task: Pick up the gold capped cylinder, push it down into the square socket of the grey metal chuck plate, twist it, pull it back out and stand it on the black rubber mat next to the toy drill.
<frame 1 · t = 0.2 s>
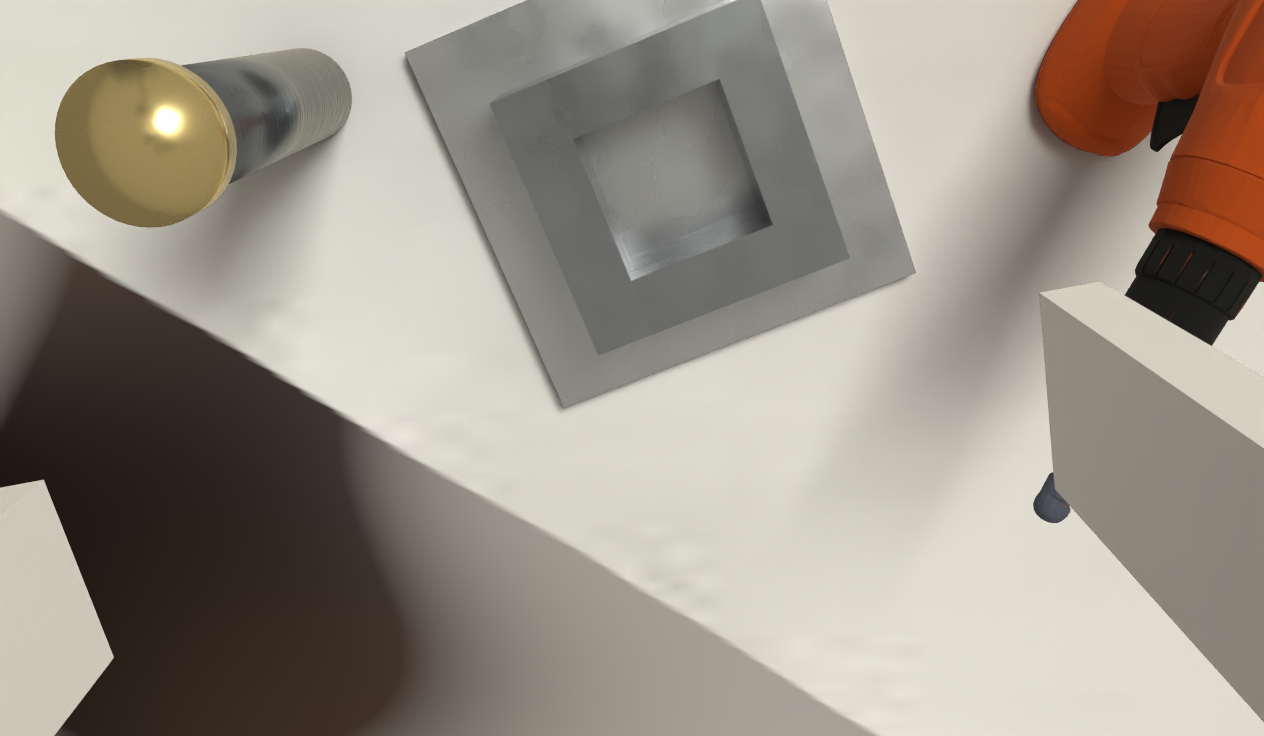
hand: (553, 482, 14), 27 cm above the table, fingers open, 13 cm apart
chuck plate: (668, 163, 40), on the table
gold capped cylinder: (306, 95, 39), on the table
toy drill: (1050, 156, 40), on the table
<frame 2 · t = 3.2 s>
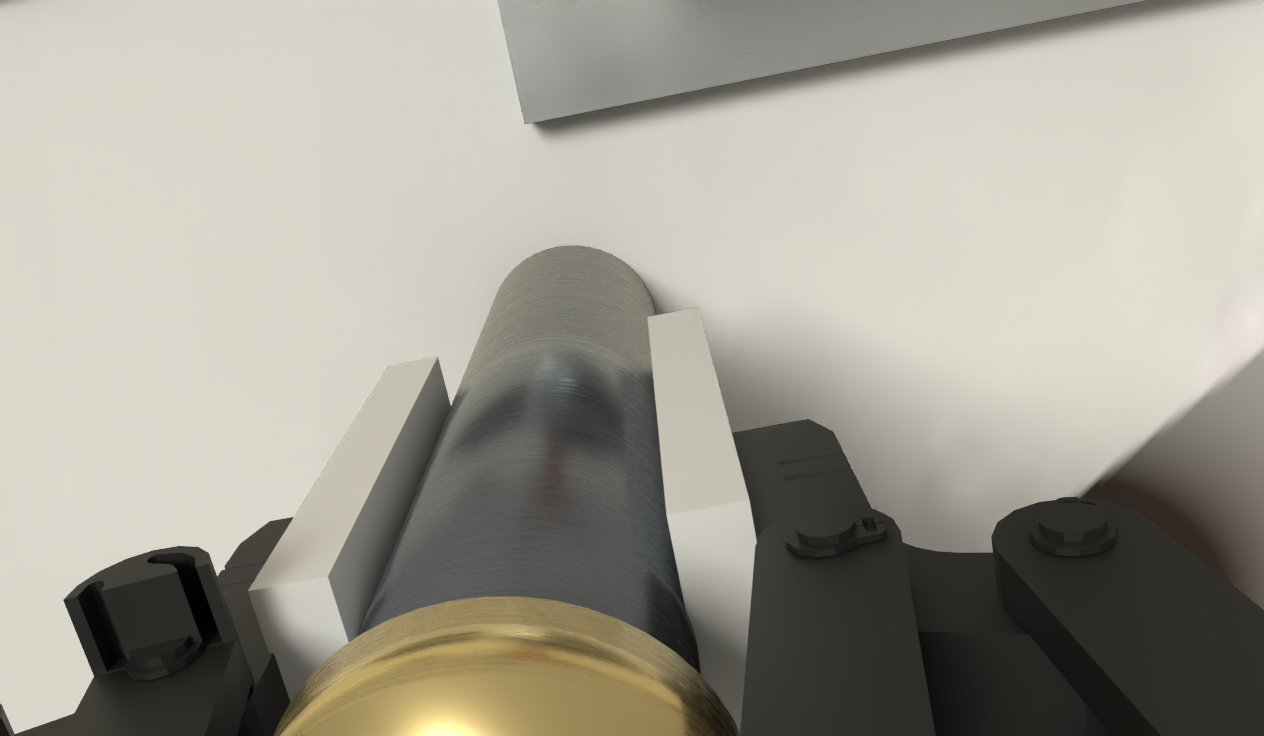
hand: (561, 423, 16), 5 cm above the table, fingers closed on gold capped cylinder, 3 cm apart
gold capped cylinder: (573, 327, 21), on the table, touching gripper
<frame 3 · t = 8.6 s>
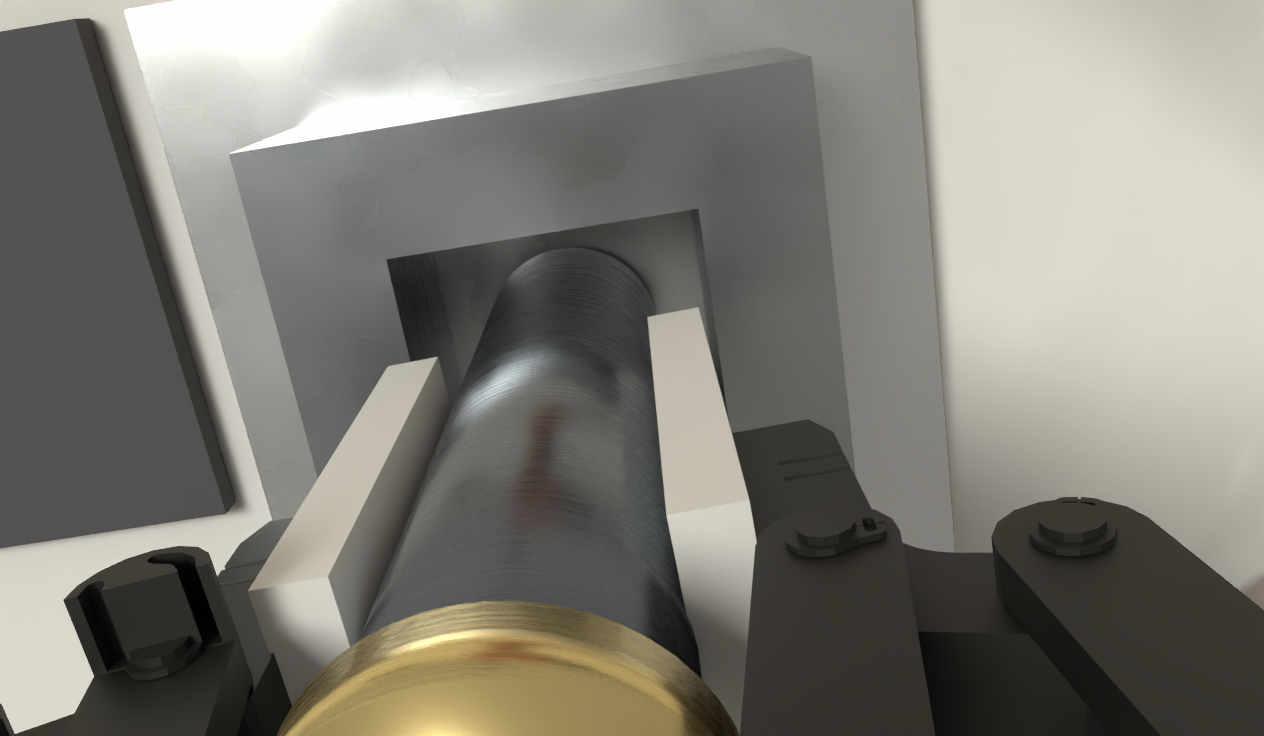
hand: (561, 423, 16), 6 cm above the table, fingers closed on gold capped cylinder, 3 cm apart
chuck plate: (578, 309, 23), on the table
gold capped cylinder: (574, 329, 21), point 1 cm above the table, touching gripper
when the fingers open (7 cm above the table, at t = 14.5 s): gold capped cylinder stays where it is, resting on mat.
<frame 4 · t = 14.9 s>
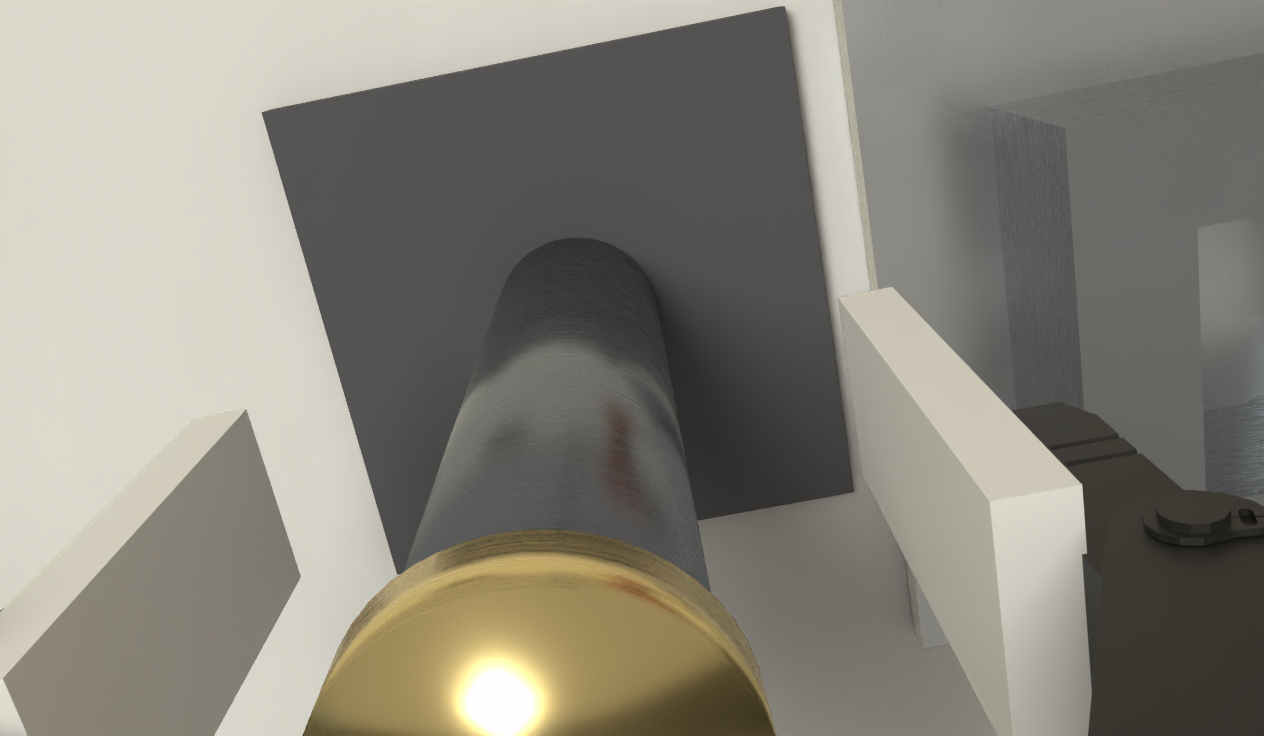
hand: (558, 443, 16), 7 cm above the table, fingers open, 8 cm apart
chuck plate: (1214, 279, 23), on the table
mat: (576, 305, 23), on the table
gold capped cylinder: (577, 316, 22), point 1 cm above the table, touching mat
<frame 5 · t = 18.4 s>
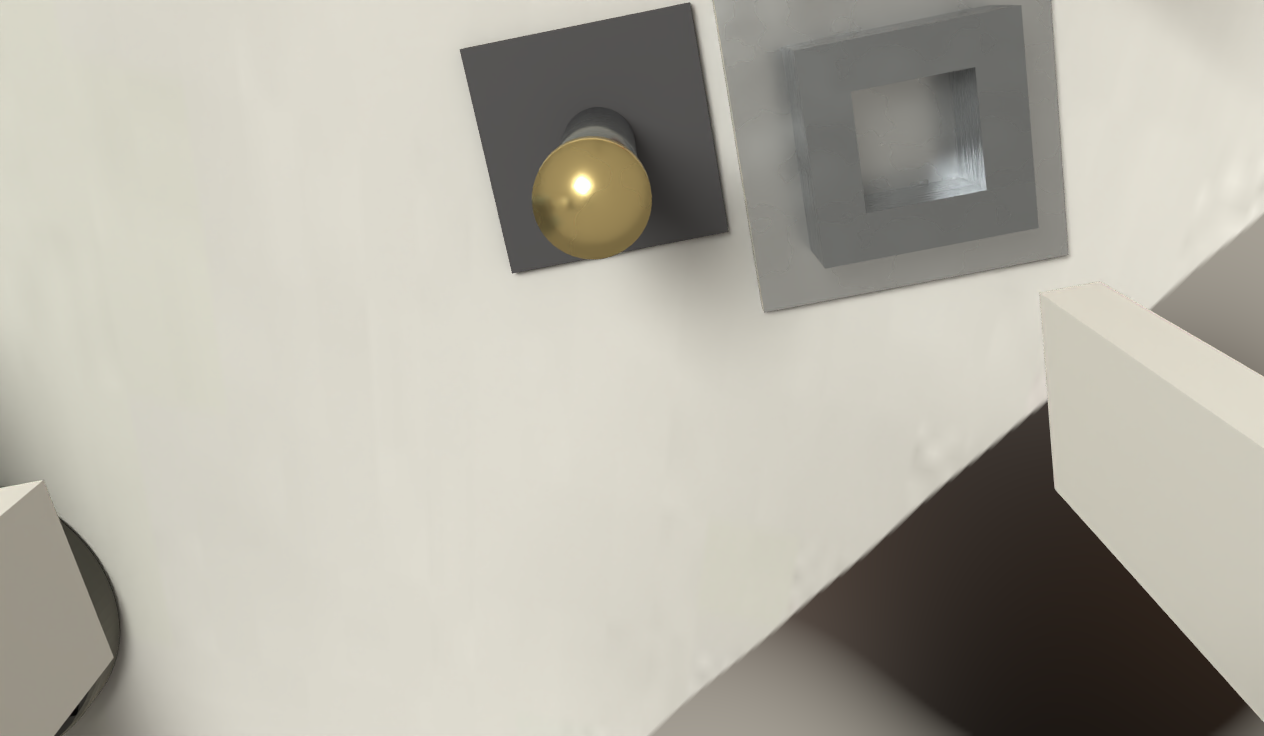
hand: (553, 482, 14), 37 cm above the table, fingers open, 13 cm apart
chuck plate: (893, 129, 49), on the table
mat: (597, 141, 49), on the table
gold capped cylinder: (598, 144, 49), point 1 cm above the table, touching mat
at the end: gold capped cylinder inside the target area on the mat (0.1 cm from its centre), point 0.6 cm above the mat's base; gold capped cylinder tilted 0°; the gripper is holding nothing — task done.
